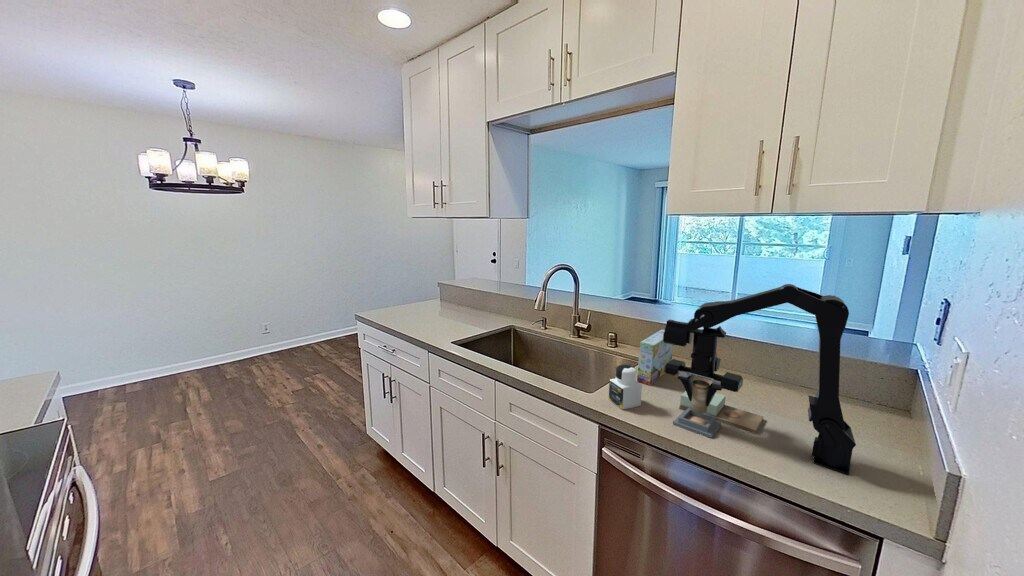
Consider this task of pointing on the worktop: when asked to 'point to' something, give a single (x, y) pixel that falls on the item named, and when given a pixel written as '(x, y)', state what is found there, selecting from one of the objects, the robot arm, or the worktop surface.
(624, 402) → the medicine bottle
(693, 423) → the blue-grey square tray
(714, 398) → the cover
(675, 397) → the worktop surface
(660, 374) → the snack box
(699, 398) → the peg
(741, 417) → the board
